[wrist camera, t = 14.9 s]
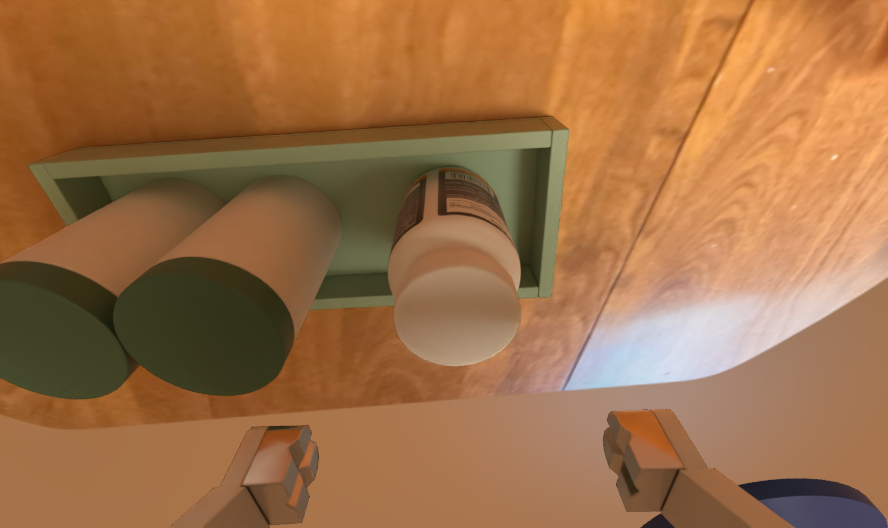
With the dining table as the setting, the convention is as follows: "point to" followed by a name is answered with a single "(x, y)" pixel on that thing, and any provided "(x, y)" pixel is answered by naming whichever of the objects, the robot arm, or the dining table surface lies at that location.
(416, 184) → the pill bottle
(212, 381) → the white bottle
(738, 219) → the dining table surface
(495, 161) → the bottle tray
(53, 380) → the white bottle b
